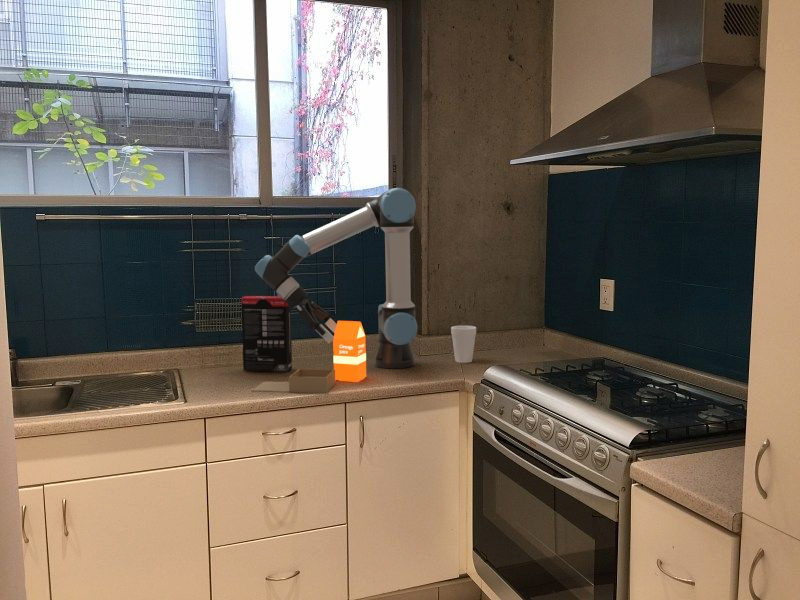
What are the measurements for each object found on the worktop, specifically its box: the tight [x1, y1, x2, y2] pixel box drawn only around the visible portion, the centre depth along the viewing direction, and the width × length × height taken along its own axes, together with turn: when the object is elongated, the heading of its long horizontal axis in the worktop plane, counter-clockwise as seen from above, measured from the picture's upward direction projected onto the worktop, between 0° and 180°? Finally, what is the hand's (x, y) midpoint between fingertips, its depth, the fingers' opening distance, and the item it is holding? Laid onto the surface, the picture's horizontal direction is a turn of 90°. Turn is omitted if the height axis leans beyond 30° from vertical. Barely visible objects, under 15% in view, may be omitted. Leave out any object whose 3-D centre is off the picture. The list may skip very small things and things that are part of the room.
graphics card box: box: [240, 295, 293, 373], centre depth 251 cm, size 17×7×27 cm, turn 84°
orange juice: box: [332, 320, 367, 383], centre depth 237 cm, size 8×9×20 cm
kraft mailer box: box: [251, 368, 337, 394], centre depth 226 cm, size 25×12×5 cm, turn 82°
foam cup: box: [450, 325, 477, 364], centre depth 264 cm, size 10×9×13 cm
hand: (336, 337), depth 236 cm, fingers open, 13 cm apart
